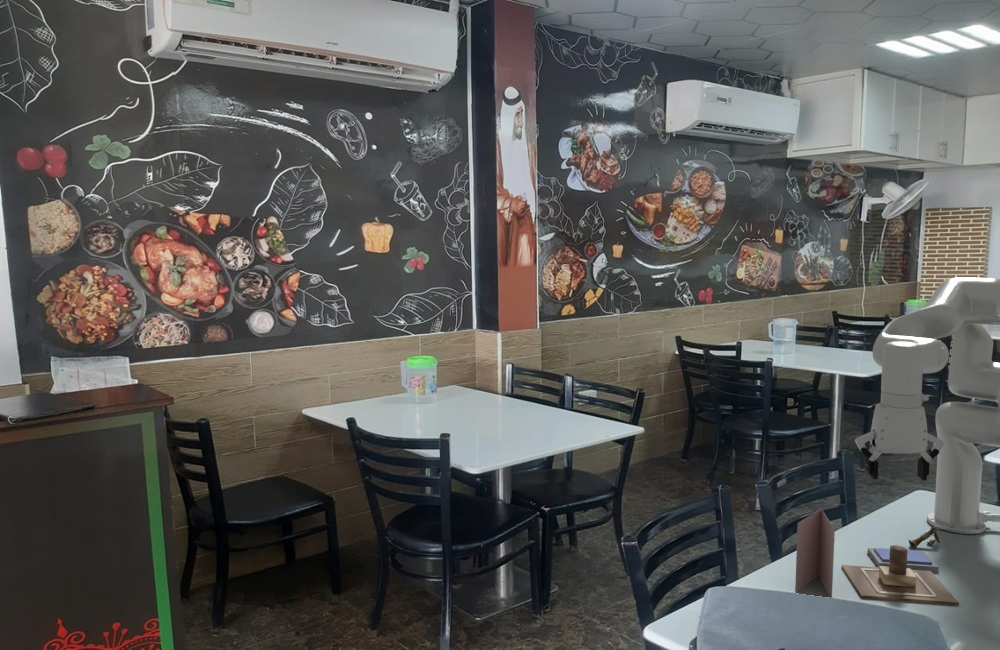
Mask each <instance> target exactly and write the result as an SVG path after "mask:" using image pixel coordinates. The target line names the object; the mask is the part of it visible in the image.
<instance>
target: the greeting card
mask: <svg viewBox="0 0 1000 650" xmlns="http://www.w3.org/2000/svg"><path fill="white" fill-rule="evenodd" d="M796 529H797V531H796V532H797V533H796V554H795V555H796V558H795V584H794V585H795V587H794V590H795V591H794V593H795V592H796V593H798V592H799V591H800V590H802V589H803V588H804V587H805V585H806V586H807V585H808V584H809V583H811V582H813V580H815V579H816V578H817V577H819V579H820V581H821V583H822V585H823V586H824V589H825V591H826V593H827V594H828V596H829V598H830V597H832V598H833V580H834V579H833V578H834V559H835V558H834V556H835V534H836V533H835V530H836V529H835V528H834V526H833V525H832V523H831V522H830V520H829V518H828V517H827V516H826V514H825V512H824V510H822V508H820V509H818V510H817V511H815V512H814V513H812V514H810V515H808V516H807V517H805V518H803V519H802V520H801V521H799V522H797V528H796ZM803 586H804V587H803ZM802 587H803V588H802ZM801 588H802V589H801ZM799 589H800V590H799ZM798 590H799V591H798ZM797 591H798V592H797Z"/></svg>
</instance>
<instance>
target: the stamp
mask: <svg viewBox="0 0 1000 650" xmlns="http://www.w3.org/2000/svg"><path fill="white" fill-rule="evenodd" d="M889 549H890V559H889V567H887V566H879V578H880V579H881V581H882V582H883V584H884V586H895V587H906V588H915V587H916V580H917V577H916V576H915V574H914V573H913V571H912V570H911V569H910V568H907V552H908V550H909V549H908V548H907V547H905V546H901V545H898V544H896V545H893V544H892V545H890V546H889Z"/></svg>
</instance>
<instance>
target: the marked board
mask: <svg viewBox="0 0 1000 650" xmlns="http://www.w3.org/2000/svg"><path fill="white" fill-rule="evenodd" d="M841 569H842V570H843V572H844V574H845V575H846V577H847V578H848V580H849V581H850V583H851V585H853V588H854V589H855V590H856V593H857V594H858V595H859V597H860V599H869V600H881V601H882V600H883V601H891V602H892V601H895V602H907V603H909V602H910V603H921V604H933V605H934V604H936V605H945V606H946V605H949V606H960V602H959V601H958V600H957V598H956V597H955V596H954V595H953V594H952V592H950V590H949V589H948V588H947V587H945V585H944V584H943V583H942V582H941V581H940V580H939V579H938V578H937V576H935V574H934V572H931V571H925V570H912V571H913V573H914V574H915V576H916V577H917V580H916V587H915V588H906V587H895V586H884V584H883V582H882V581H881V579H880V578H879V567H878V566H877V567H876V566H864V565H863V566H862V565H848V564H847V565H846V564H842V565H841Z"/></svg>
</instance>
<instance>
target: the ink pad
mask: <svg viewBox="0 0 1000 650" xmlns="http://www.w3.org/2000/svg"><path fill="white" fill-rule="evenodd" d="M907 550H908V552H907V568H910V569H911V570H925V571H931V572H932V573H939V571H940V570H939V569H940V567H939V565H938V564H937V563H936V562H935V561H934V560H933V559H932V558H931V557H930V556H929V555H928V554H927V553H926V552H925V551H923V550H917V549H916V550H911V549H907ZM867 554H868V556H869V557H870V559H872V561H873V562H874V563H875V565H876V566H877V567H879V566H887V567H889V559H890V548H880V547H874V548H873V547H867Z"/></svg>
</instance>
